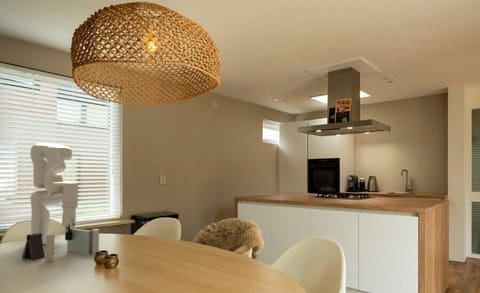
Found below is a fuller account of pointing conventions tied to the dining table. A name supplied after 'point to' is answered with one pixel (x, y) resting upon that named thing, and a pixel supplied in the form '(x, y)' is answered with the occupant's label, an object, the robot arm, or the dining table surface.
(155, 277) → the dining table surface
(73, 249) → the door
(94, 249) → the hinge post
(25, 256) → the phone stand
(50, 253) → the post
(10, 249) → the dining table surface
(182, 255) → the dining table surface
